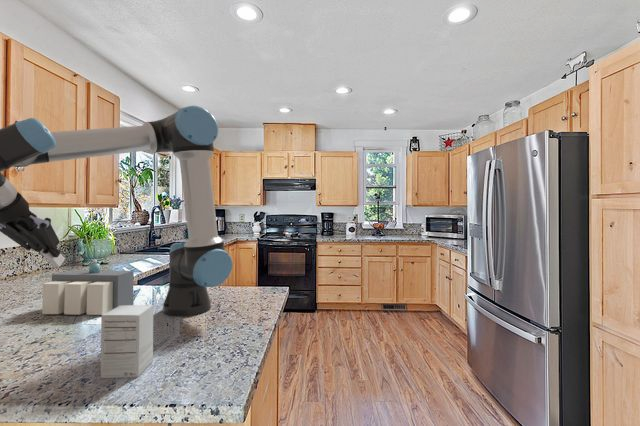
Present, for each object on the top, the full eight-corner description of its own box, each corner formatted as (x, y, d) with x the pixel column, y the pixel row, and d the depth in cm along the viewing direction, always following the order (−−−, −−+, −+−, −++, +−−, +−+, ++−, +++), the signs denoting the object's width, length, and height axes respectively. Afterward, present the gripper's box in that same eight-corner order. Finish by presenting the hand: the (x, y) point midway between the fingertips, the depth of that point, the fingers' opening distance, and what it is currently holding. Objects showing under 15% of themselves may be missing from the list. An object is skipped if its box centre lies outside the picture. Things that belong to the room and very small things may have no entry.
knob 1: (88, 302, 116) (88, 276, 116) (58, 314, 102) (58, 284, 102) (73, 302, 116) (74, 276, 116) (42, 314, 102) (42, 283, 102)
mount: (133, 304, 117) (133, 270, 117) (107, 316, 102) (107, 278, 102) (71, 303, 117) (72, 269, 117) (37, 315, 102) (38, 277, 102)
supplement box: (118, 362, 71) (119, 304, 71) (153, 361, 72) (154, 304, 72) (98, 379, 64) (100, 314, 64) (138, 378, 64) (139, 314, 65)
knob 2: (127, 303, 116) (127, 276, 116) (102, 314, 102) (103, 284, 102) (113, 303, 116) (113, 276, 116) (86, 314, 102) (87, 284, 102)
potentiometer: (101, 271, 114) (101, 259, 114) (95, 273, 111) (96, 260, 111) (93, 271, 114) (93, 259, 114) (87, 273, 111) (87, 260, 111)
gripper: (-44, 212, 70) (27, 274, 87) (17, 212, 70) (76, 274, 87) (-18, 189, 75) (44, 252, 92) (38, 189, 75) (90, 251, 92)
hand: (59, 262), depth 89 cm, fingers closed
